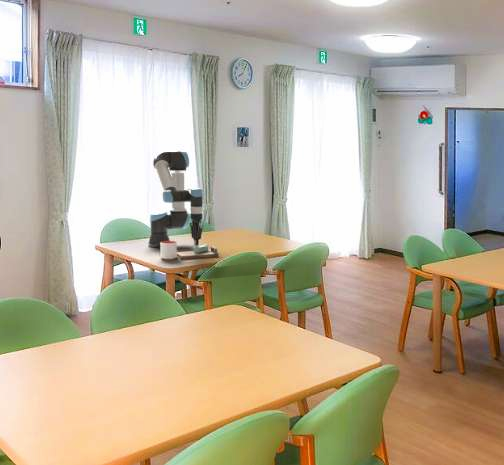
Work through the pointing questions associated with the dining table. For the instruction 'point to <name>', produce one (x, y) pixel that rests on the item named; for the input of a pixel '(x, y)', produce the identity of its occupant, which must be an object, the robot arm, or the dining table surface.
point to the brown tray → (198, 254)
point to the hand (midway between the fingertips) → (196, 249)
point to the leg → (201, 248)
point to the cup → (168, 249)
